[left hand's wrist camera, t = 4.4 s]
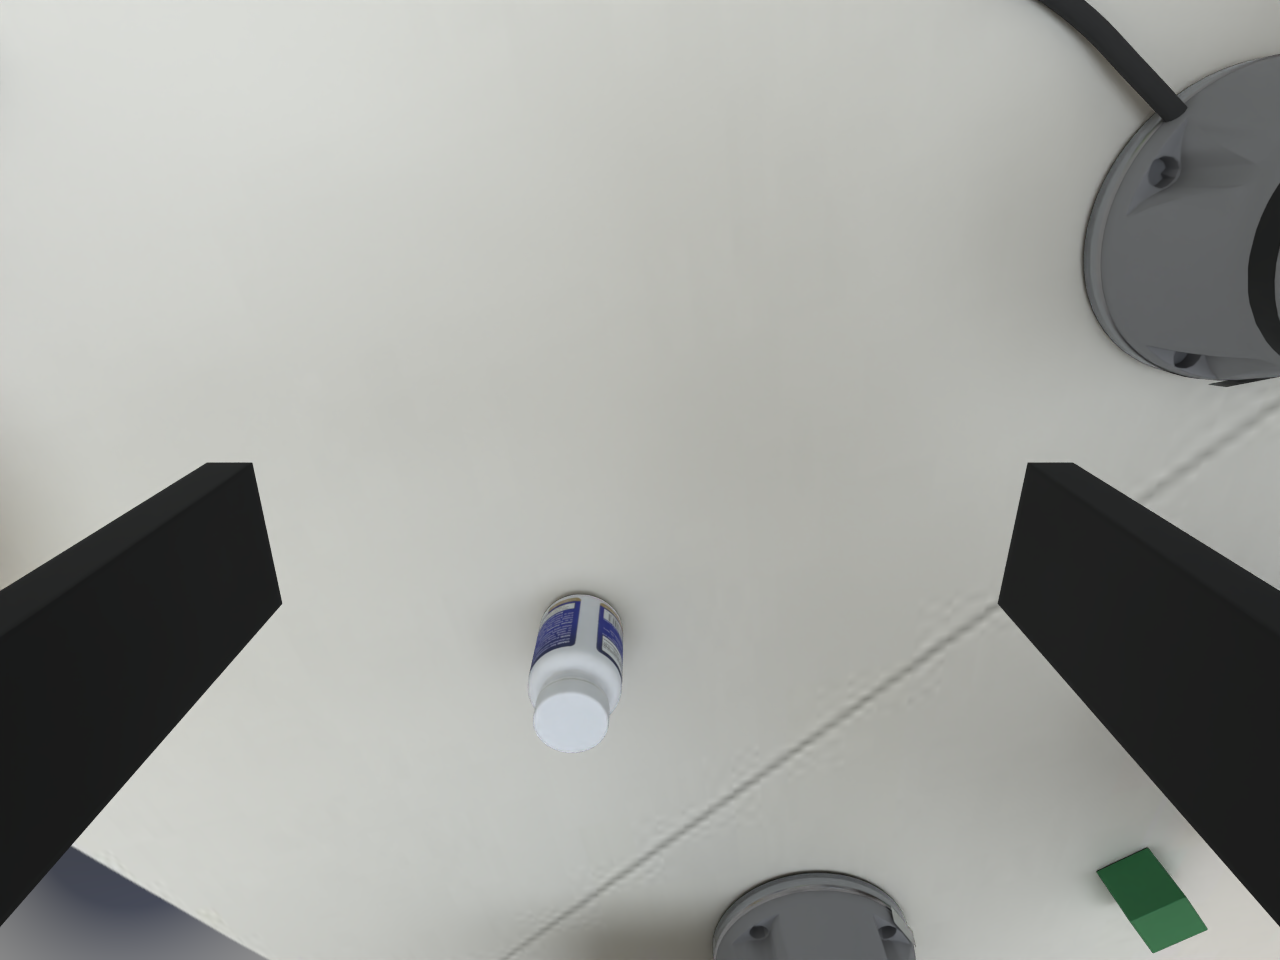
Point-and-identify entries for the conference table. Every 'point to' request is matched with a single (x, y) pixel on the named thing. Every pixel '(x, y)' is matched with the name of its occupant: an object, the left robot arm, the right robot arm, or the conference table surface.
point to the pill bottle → (576, 672)
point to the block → (1151, 900)
